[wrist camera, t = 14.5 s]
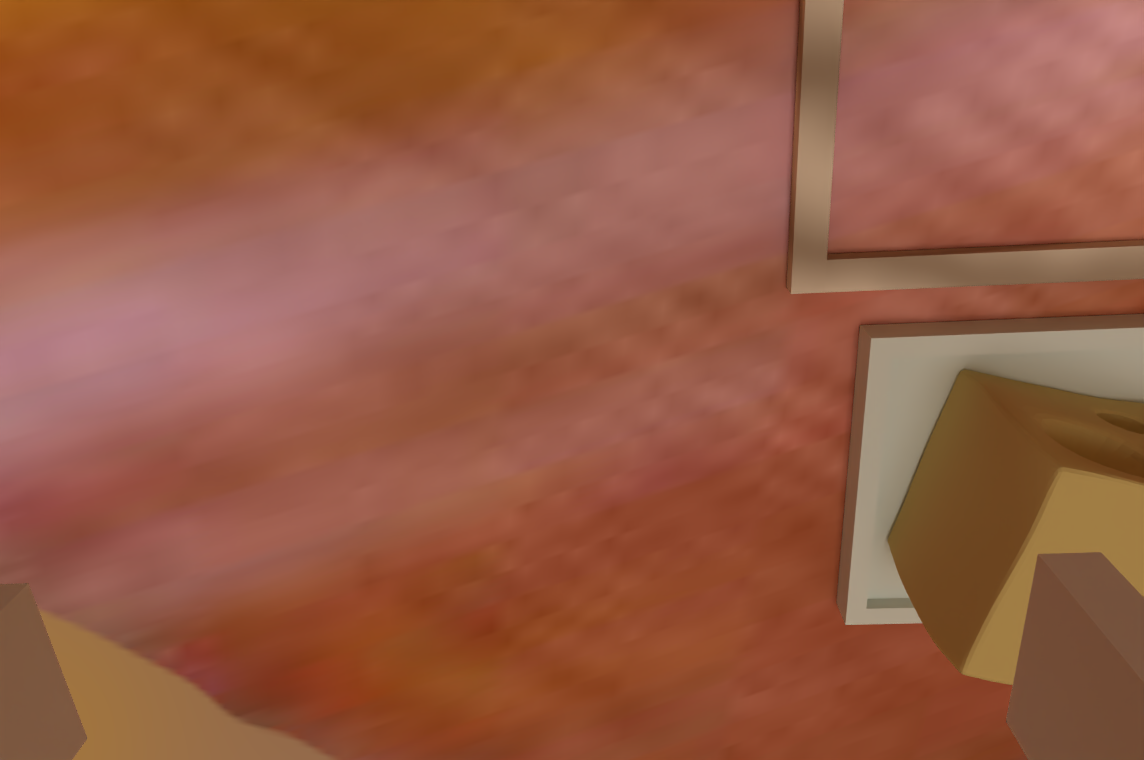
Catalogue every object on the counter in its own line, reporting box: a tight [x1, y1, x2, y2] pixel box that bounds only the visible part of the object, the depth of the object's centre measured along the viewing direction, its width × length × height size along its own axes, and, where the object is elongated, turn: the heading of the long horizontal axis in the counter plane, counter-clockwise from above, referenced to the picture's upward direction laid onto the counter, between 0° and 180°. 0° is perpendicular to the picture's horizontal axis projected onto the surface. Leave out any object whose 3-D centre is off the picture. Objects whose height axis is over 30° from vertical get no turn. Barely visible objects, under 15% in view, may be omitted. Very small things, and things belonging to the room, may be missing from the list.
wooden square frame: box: [786, 0, 1144, 294], centre depth 34 cm, size 20×19×1 cm
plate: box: [837, 314, 1144, 625], centre depth 41 cm, size 16×16×2 cm
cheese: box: [888, 370, 1144, 685], centre depth 36 cm, size 10×11×10 cm
